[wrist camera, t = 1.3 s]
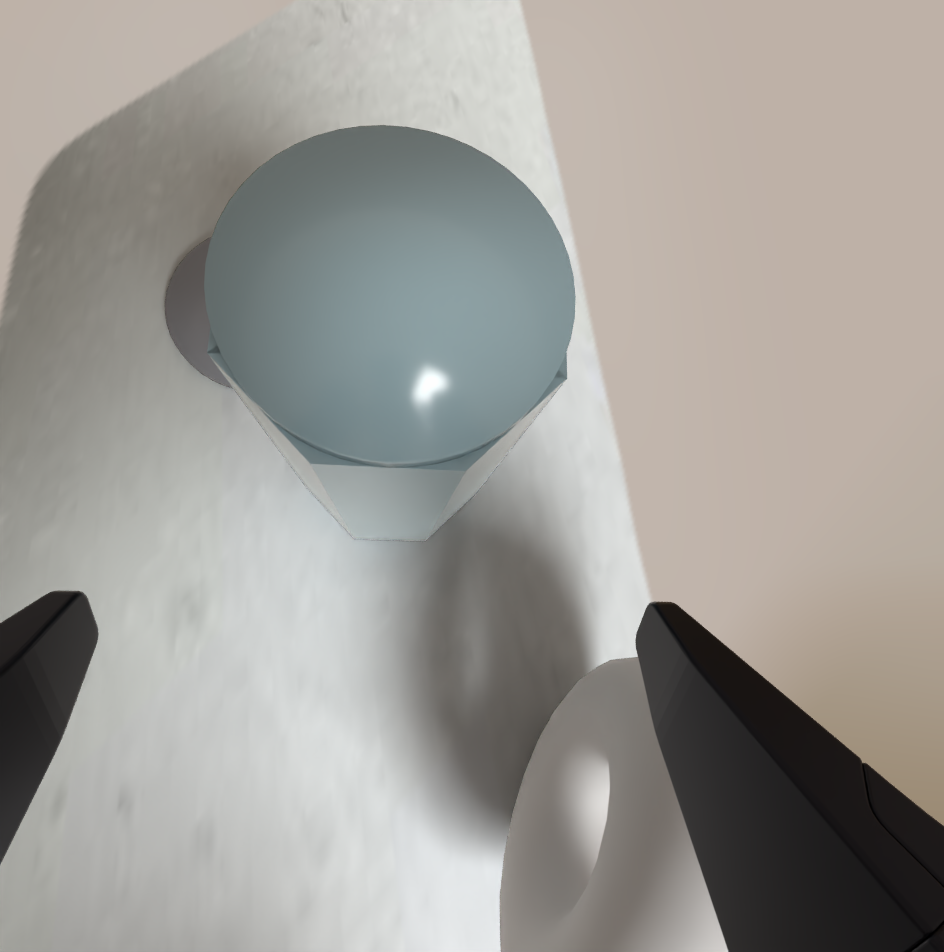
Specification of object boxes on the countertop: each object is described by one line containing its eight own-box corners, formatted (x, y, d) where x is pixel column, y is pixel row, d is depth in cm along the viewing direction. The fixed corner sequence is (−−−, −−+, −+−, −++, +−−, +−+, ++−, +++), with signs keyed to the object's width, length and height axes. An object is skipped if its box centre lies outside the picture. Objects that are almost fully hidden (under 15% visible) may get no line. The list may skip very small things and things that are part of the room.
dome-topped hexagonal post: (508, 463, 23) (645, 303, 11) (388, 576, 21) (384, 540, 9) (398, 349, 23) (408, 68, 11) (273, 451, 22) (119, 255, 9)
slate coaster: (386, 326, 23) (386, 323, 23) (239, 426, 22) (237, 424, 21) (281, 201, 24) (280, 196, 24) (130, 289, 22) (127, 285, 22)
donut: (554, 952, 19) (719, 1304, 10) (460, 914, 19) (532, 1232, 9) (644, 664, 22) (847, 715, 12) (562, 629, 22) (702, 651, 12)
